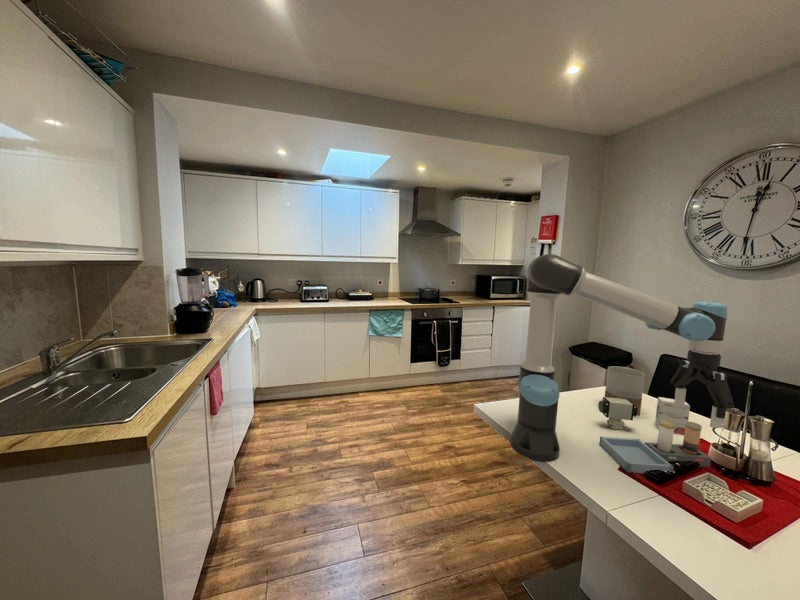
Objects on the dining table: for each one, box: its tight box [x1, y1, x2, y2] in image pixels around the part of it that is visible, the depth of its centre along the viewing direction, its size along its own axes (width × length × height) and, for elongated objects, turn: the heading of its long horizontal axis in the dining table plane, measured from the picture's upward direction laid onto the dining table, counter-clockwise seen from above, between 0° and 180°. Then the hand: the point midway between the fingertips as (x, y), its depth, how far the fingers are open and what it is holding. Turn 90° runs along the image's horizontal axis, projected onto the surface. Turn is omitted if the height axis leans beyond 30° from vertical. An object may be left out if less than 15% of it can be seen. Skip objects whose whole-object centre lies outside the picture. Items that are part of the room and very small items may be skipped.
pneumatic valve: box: [597, 396, 638, 431], centre depth 121 cm, size 6×12×12 cm, turn 78°
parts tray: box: [598, 436, 675, 474], centre depth 101 cm, size 13×15×3 cm
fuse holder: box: [644, 441, 712, 468], centre depth 102 cm, size 15×7×3 cm, turn 86°
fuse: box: [656, 420, 675, 453], centre depth 102 cm, size 4×4×12 cm
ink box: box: [654, 396, 691, 436], centre depth 121 cm, size 9×5×12 cm, turn 65°
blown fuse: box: [682, 421, 703, 455], centre depth 102 cm, size 4×4×12 cm
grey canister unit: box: [604, 365, 646, 416], centre depth 136 cm, size 13×13×18 cm
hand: (696, 416), depth 100 cm, fingers open, 13 cm apart
